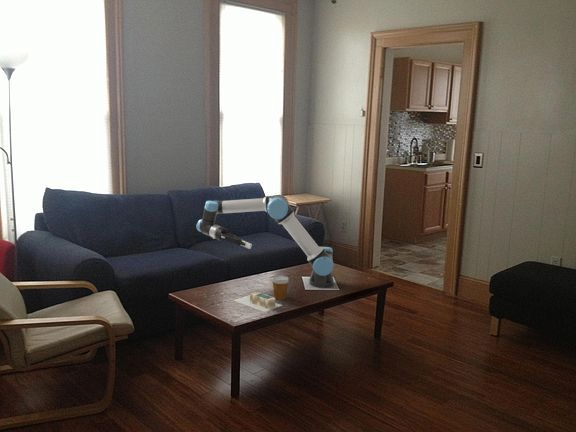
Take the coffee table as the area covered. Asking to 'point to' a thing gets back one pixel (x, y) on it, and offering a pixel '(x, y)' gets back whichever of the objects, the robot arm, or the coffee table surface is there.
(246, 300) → the mat
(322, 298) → the coffee table surface
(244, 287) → the coffee table surface
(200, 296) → the coffee table surface
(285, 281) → the disposable coffee cup
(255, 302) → the block
